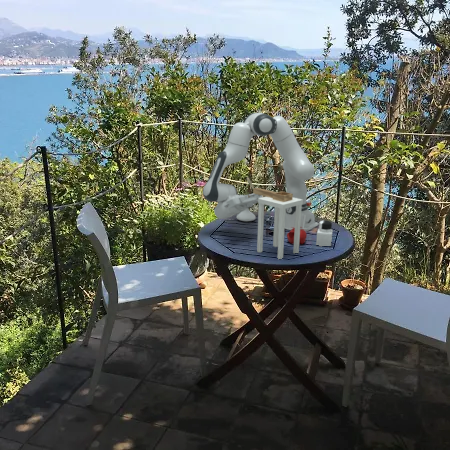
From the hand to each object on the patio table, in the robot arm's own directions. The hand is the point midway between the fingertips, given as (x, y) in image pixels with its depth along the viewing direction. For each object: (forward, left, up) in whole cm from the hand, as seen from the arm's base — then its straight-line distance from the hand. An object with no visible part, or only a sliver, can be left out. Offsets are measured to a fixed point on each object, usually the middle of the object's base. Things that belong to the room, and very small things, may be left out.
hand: (255, 194), depth 219 cm
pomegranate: (-18, +13, -25) cm, 34 cm away
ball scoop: (0, +10, +1) cm, 10 cm away
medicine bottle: (-26, +24, -25) cm, 43 cm away
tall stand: (0, +16, -25) cm, 30 cm away
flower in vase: (-28, -32, -25) cm, 50 cm away
